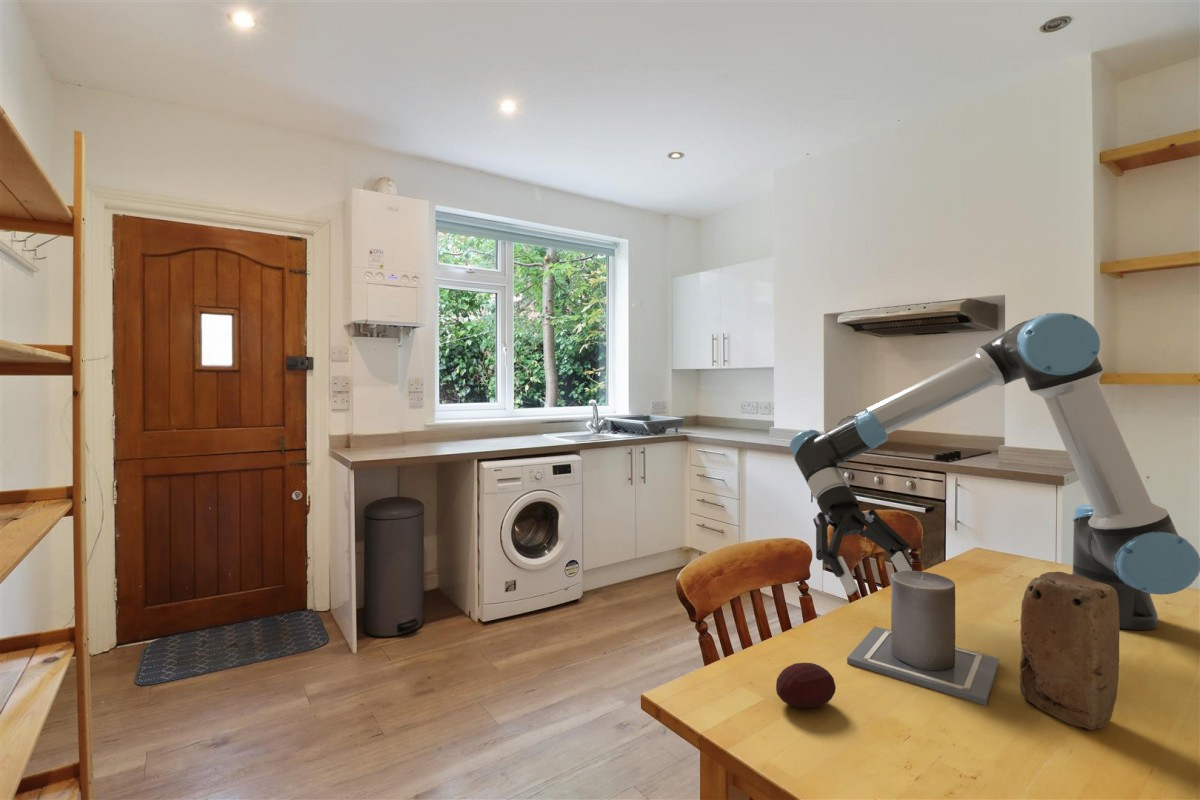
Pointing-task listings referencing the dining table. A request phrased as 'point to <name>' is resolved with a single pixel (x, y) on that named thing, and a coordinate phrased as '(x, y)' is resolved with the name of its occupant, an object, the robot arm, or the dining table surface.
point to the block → (1070, 648)
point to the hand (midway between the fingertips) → (883, 588)
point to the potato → (805, 685)
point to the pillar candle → (923, 620)
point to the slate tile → (961, 680)
